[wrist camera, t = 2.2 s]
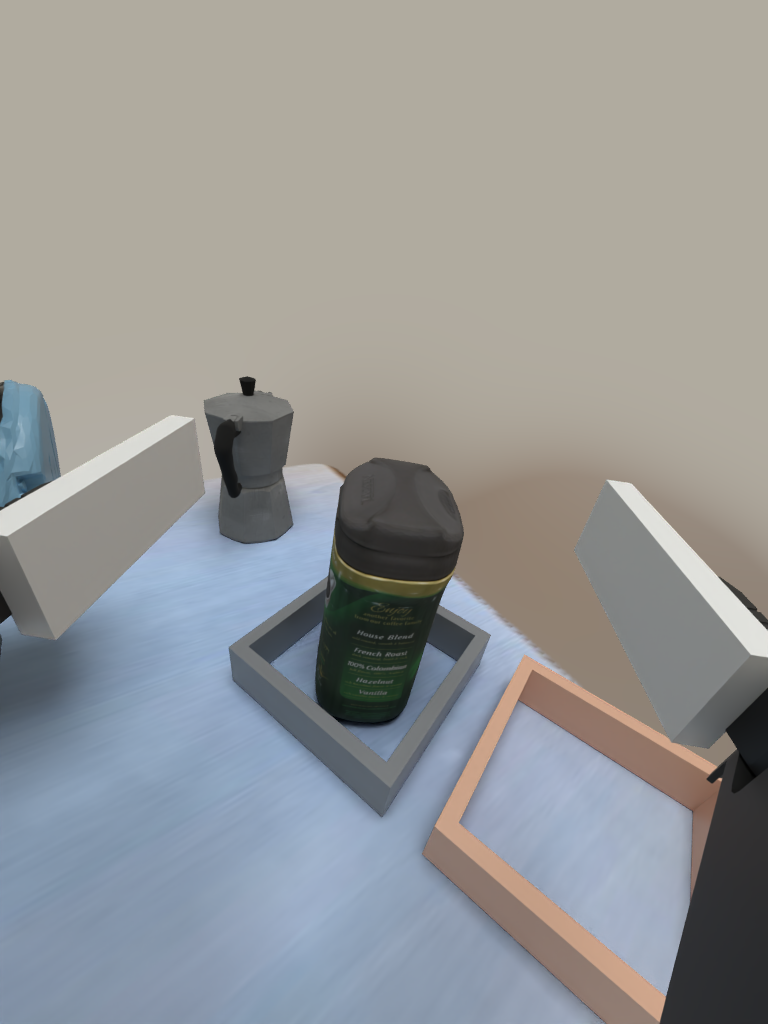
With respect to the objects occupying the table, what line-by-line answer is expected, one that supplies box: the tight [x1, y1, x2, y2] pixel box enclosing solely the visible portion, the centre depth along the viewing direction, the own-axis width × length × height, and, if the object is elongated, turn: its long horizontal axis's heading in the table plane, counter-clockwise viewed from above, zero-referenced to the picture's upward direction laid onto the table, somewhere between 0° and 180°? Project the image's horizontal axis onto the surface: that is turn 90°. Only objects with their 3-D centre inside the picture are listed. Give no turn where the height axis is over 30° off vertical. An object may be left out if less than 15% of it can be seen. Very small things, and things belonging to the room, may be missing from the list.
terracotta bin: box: [422, 655, 722, 1024], centre depth 25 cm, size 15×15×4 cm
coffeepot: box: [204, 377, 294, 543], centre depth 45 cm, size 15×9×18 cm, turn 179°
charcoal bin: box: [229, 576, 491, 817], centre depth 33 cm, size 15×15×4 cm
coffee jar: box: [315, 458, 464, 722], centre depth 29 cm, size 10×8×19 cm
